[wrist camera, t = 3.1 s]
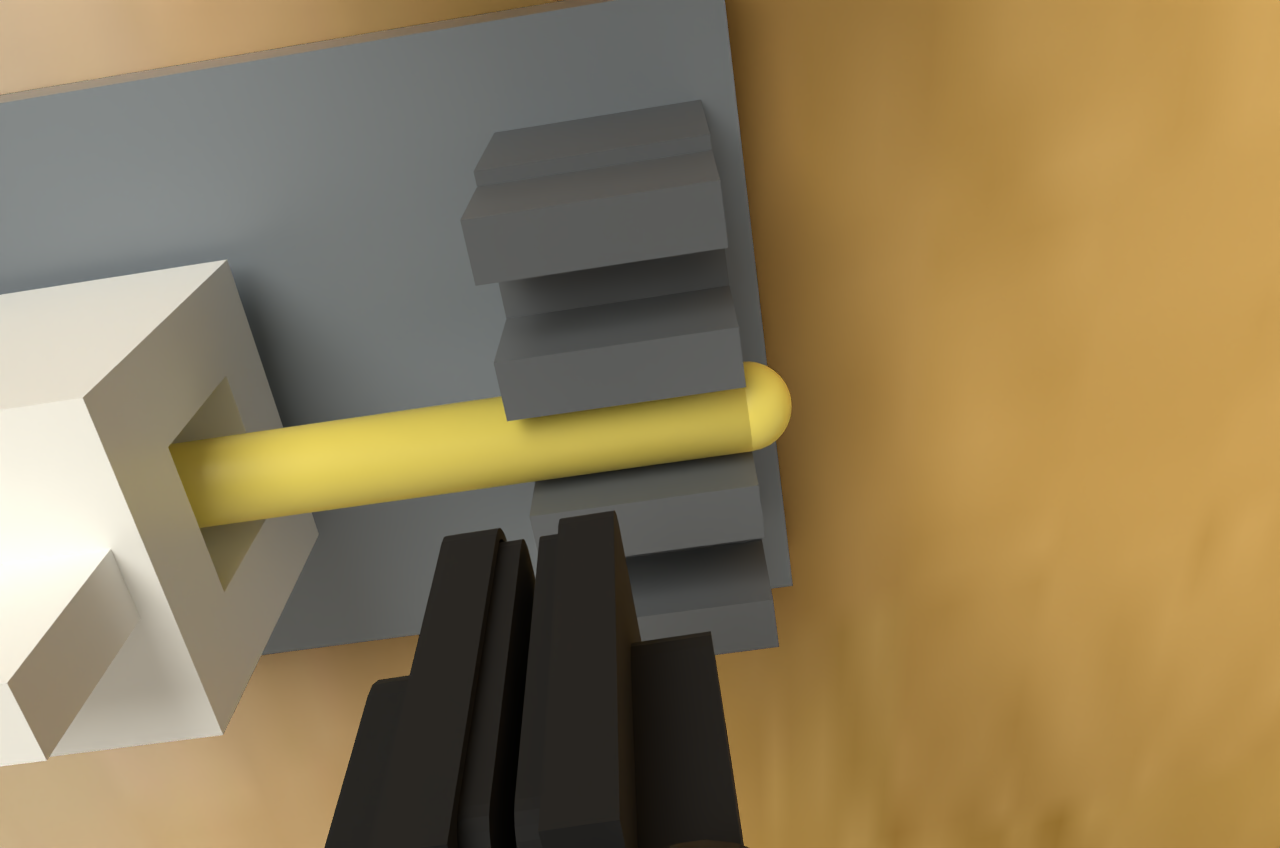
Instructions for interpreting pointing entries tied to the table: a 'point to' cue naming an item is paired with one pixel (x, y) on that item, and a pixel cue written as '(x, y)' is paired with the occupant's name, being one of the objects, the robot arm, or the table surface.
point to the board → (450, 270)
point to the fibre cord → (465, 450)
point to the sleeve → (128, 515)
